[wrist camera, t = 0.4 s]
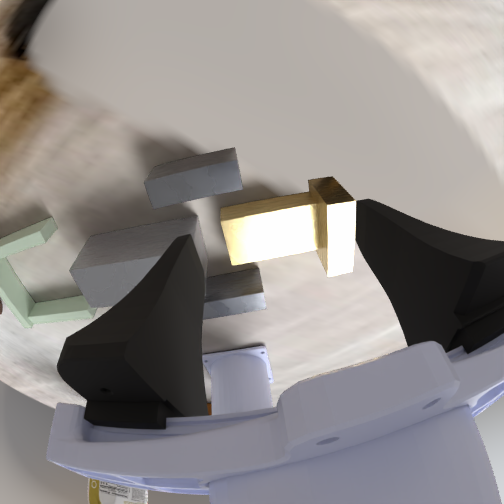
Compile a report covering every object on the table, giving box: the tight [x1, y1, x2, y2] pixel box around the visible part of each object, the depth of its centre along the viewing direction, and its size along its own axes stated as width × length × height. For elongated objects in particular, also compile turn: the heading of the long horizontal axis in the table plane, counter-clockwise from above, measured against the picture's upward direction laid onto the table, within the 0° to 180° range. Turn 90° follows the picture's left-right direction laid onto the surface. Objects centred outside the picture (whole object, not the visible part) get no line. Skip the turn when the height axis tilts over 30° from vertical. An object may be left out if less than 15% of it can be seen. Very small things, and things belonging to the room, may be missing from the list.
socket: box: [144, 148, 267, 320], centre depth 21 cm, size 13×6×3 cm, turn 10°
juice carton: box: [88, 478, 148, 504], centre depth 32 cm, size 9×8×24 cm
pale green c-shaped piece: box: [0, 217, 97, 328], centre depth 22 cm, size 10×12×3 cm
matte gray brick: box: [69, 216, 208, 308], centre depth 21 cm, size 4×10×5 cm, turn 96°
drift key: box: [221, 177, 356, 277], centre depth 21 cm, size 6×9×4 cm, turn 100°
